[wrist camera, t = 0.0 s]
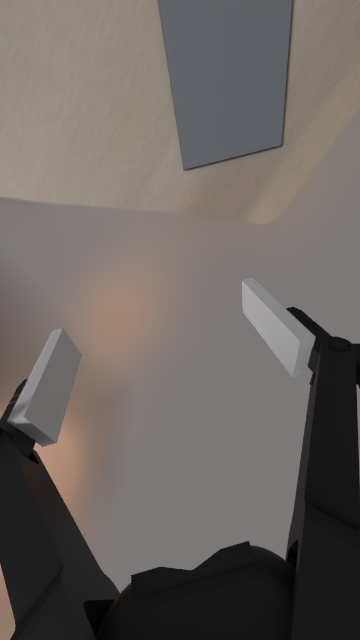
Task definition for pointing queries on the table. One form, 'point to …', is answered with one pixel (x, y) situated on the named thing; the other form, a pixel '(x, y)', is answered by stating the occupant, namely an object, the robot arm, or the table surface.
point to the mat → (226, 74)
